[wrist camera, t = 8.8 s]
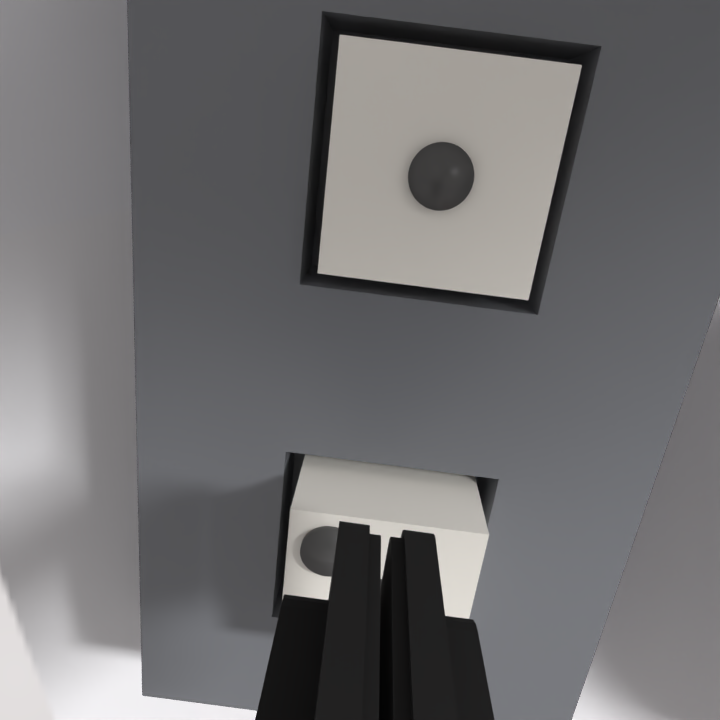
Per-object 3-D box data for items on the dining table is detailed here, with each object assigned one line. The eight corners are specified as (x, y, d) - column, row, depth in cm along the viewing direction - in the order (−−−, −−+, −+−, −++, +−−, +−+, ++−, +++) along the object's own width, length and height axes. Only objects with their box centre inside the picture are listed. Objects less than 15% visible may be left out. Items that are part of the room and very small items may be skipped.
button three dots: (305, 451, 15) (289, 513, 12) (474, 473, 15) (490, 539, 12) (293, 585, 16) (275, 663, 14) (445, 604, 16) (455, 686, 14)
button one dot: (349, 53, 12) (338, 33, 10) (547, 78, 12) (584, 63, 10) (329, 251, 14) (316, 275, 11) (506, 273, 14) (529, 302, 11)
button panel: (191, -933, 9) (96, -1435, 6) (992, -839, 9) (1276, -1298, 6) (178, 615, 20) (142, 695, 17) (536, 662, 19) (560, 750, 17)
